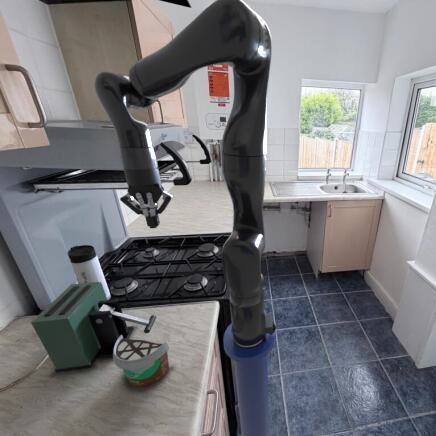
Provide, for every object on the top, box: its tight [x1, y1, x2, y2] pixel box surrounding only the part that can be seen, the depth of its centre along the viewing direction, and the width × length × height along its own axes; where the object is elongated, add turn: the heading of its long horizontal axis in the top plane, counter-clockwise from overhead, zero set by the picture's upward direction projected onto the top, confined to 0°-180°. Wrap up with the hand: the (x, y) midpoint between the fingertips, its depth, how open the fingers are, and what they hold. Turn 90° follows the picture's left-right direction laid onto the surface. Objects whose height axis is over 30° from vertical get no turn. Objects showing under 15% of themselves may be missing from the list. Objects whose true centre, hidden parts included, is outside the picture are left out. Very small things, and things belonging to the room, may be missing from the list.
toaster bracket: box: [88, 298, 135, 360], centre depth 61 cm, size 5×9×13 cm, turn 10°
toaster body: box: [30, 282, 107, 373], centre depth 60 cm, size 7×13×16 cm, turn 10°
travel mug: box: [67, 244, 112, 300], centre depth 75 cm, size 6×7×20 cm
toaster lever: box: [98, 304, 157, 334], centre depth 61 cm, size 13×5×2 cm, turn 101°
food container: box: [112, 335, 170, 389], centre depth 53 cm, size 12×6×10 cm, turn 82°
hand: (154, 227), depth 66 cm, fingers closed
